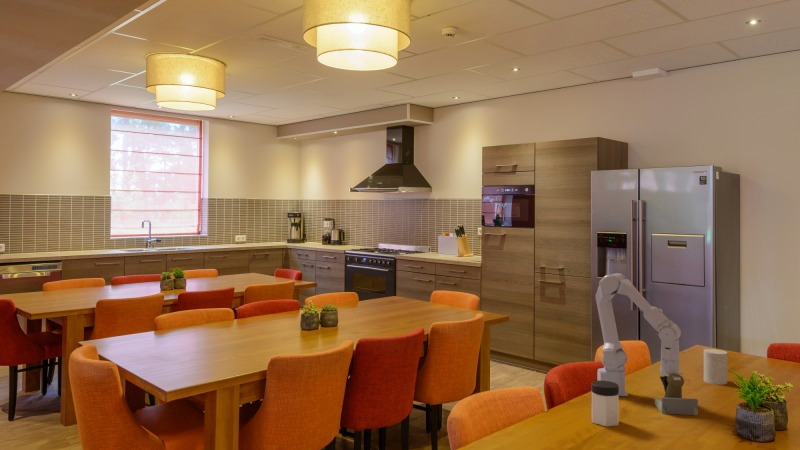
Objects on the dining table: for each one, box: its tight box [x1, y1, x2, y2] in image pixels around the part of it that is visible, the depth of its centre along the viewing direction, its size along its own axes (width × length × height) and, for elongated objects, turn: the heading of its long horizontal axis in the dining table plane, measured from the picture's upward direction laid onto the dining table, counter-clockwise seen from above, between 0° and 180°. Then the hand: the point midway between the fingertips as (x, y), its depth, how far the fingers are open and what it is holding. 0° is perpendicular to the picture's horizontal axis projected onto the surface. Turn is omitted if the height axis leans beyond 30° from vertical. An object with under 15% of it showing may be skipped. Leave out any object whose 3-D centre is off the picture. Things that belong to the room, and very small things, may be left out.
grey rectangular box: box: [654, 396, 699, 416], centre depth 184 cm, size 11×8×5 cm
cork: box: [663, 374, 685, 398], centre depth 186 cm, size 6×6×11 cm
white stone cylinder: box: [703, 348, 728, 386], centre depth 217 cm, size 8×8×12 cm
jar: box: [590, 380, 620, 427], centre depth 173 cm, size 9×8×12 cm
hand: (670, 398), depth 190 cm, fingers closed, pressing on cork
